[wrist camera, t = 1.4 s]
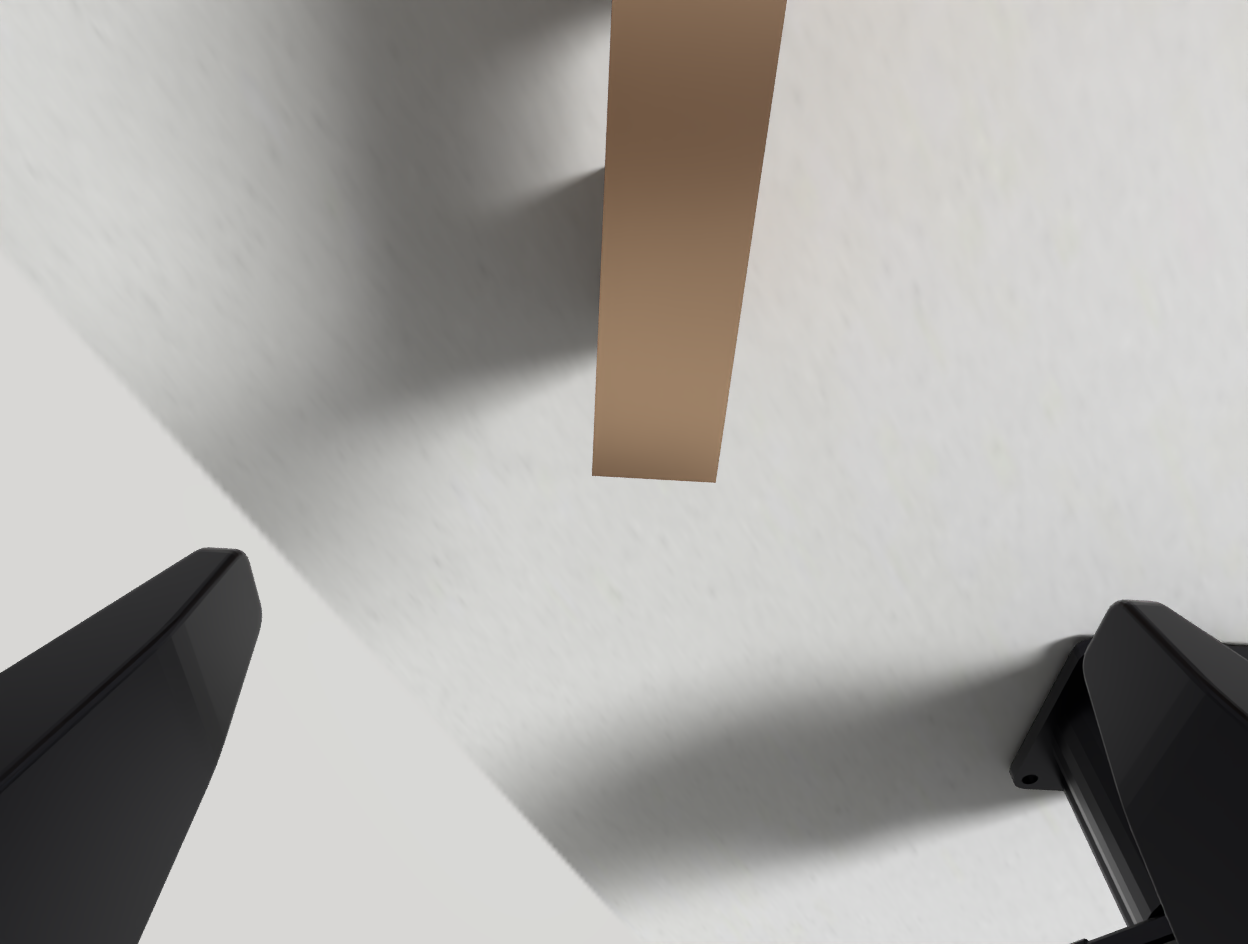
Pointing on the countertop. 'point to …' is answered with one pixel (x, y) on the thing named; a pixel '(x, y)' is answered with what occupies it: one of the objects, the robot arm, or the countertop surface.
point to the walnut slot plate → (678, 226)
